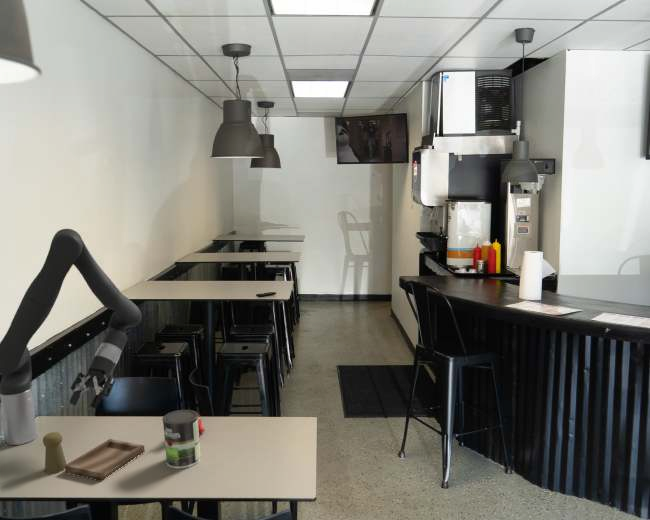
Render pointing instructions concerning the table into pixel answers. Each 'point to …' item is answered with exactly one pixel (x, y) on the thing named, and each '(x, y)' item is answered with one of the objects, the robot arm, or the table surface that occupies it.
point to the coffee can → (181, 438)
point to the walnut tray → (104, 459)
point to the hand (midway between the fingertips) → (82, 406)
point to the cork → (54, 453)
